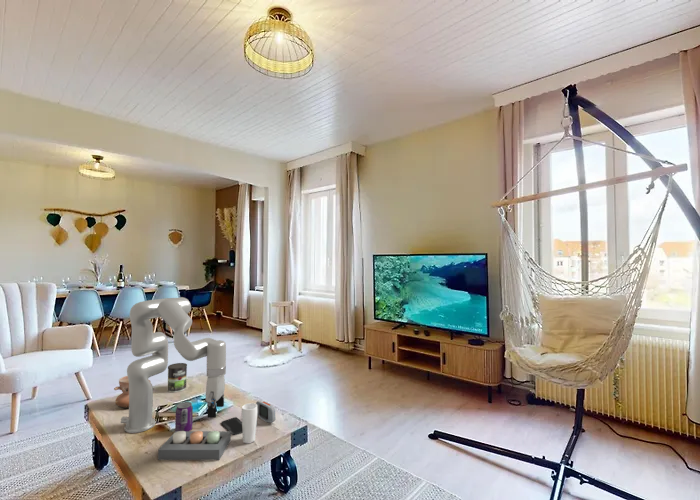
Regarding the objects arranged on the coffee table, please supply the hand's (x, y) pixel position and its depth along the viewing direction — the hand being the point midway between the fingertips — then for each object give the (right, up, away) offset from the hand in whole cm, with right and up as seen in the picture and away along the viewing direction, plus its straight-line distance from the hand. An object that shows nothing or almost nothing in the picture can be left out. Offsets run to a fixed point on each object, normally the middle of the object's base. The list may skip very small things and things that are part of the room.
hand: (216, 411), depth 143 cm
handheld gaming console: (+15, -16, +25) cm, 33 cm away
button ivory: (-15, -12, -1) cm, 19 cm away
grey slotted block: (-8, -15, -1) cm, 17 cm away
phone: (+2, -16, +18) cm, 24 cm away
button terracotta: (-8, -12, -1) cm, 15 cm away
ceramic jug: (-61, -15, +41) cm, 75 cm away
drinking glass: (+12, -16, +6) cm, 21 cm away
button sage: (-1, -12, -1) cm, 13 cm away
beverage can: (-20, -16, +13) cm, 29 cm away
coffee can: (-47, -16, +61) cm, 79 cm away
